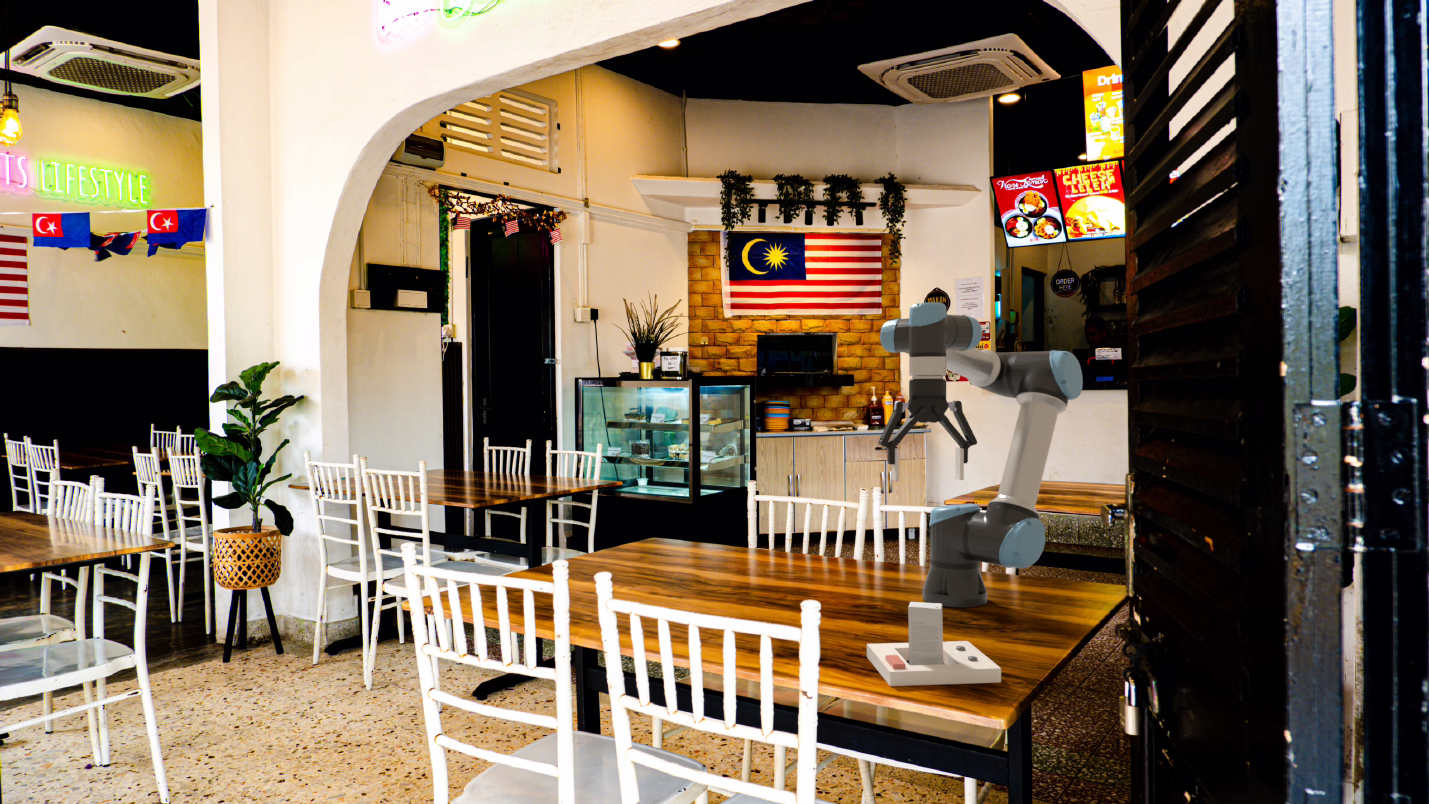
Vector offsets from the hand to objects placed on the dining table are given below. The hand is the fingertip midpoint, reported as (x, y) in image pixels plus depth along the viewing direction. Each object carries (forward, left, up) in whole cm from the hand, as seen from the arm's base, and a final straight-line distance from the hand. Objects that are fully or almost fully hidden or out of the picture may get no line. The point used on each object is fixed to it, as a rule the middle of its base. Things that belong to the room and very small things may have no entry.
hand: (927, 480), depth 177 cm
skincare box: (+7, +20, -33) cm, 39 cm away
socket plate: (+6, +20, -33) cm, 39 cm away
